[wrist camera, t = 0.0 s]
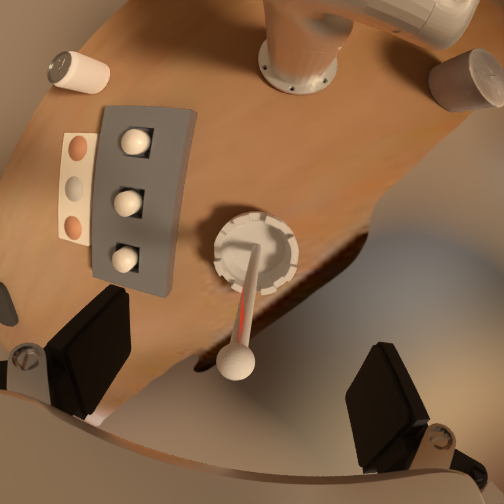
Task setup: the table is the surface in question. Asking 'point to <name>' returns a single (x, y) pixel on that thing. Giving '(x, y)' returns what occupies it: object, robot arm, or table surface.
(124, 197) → the middle button
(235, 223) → the flag stand
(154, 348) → the table surface
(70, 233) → the pattern card
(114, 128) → the button panel
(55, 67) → the can
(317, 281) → the table surface
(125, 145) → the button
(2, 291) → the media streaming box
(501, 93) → the pillar candle
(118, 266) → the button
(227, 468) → the robot arm
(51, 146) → the table surface
